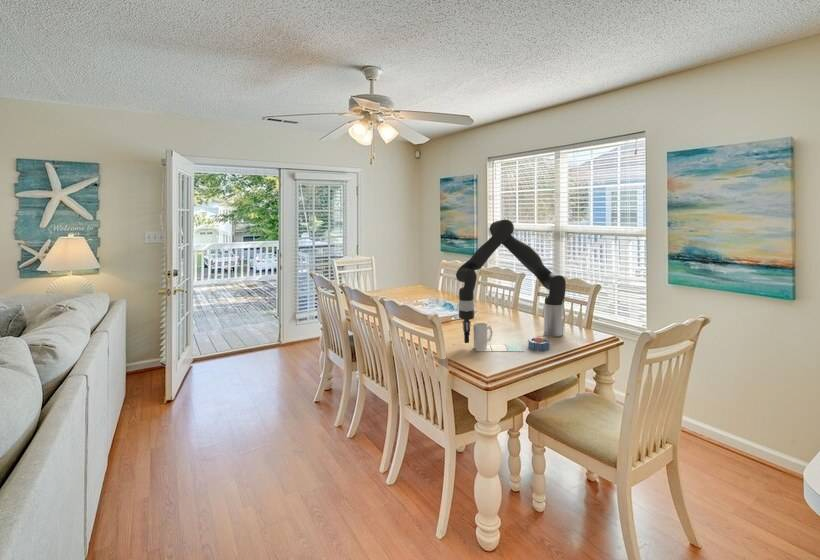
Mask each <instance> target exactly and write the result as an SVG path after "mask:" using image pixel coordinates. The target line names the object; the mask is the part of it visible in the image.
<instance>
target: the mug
mask: <svg viewBox="0 0 820 560" xmlns="http://www.w3.org/2000/svg"><path fill="white" fill-rule="evenodd" d="M488 330H489V337H488ZM492 336H493V329H492V326H491V325H490V324H489V325H488V323H484V322H477V323H476V322H475V323H473V347H474V348H473V349H475V350H476V349H477V350H485V349H487V344H488V343H489V342H491V340H492Z"/></svg>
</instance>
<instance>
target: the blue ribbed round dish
mask: <svg viewBox="0 0 820 560" xmlns="http://www.w3.org/2000/svg"><path fill="white" fill-rule="evenodd" d="M536 337H537V336H535V337H529V338H528V345H527V346H528V349H529V350H531V351H534V352H546V351H549V350H550V339H548V338H546V337H542V338H543V339H544V341H545V342H543V343H539V342H534V341H533V340H534V339H535V338H536Z"/></svg>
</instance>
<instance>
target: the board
mask: <svg viewBox="0 0 820 560" xmlns="http://www.w3.org/2000/svg"><path fill="white" fill-rule="evenodd" d="M475 352H476V353H477V352H482V353H486V352H487V353H489V352H490V353H494V352H495V353H496V352H497V353H498V352H499V353H502V352H505V353H506V352H507V353H515V352H516V353H517V352H518V353H520V352H521V353H522V352H525V351H524V350H523V348H522V346H521V344H520V343H519V344H517V343H515V344H514V343H513V344H512V343H508V344H507V343H502V344H501V343H500V344H499V343H495V344H494V343H490V344H489V343H487V349H485V350H477V349H475Z"/></svg>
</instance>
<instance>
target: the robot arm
mask: <svg viewBox="0 0 820 560" xmlns="http://www.w3.org/2000/svg"><path fill="white" fill-rule="evenodd" d="M514 225H515V224H514V223H513V222H512V221H511V220H510V219H499V220H497V221H493V222H492V223H491V224H490V225H489V232H490V235H491V236H490V238H489V239H488V240H487V241H485V242H484V243H483V244H481V246H480V247H479V248H478V249H477V250H476V251H475V252H474V253H473V255H472V256H471V257H469V260H468V259H467V261H465V262H464V263H463V264H462V265H461V266H460V267H459V268H458V269H457V270H456V273H455V277H456V280H457V281H458V282H460V283H463V286H462V287H460V288H459V291H458V318H459V319H460V320H462V322H461V323H462V331H463V336H464V340H463V341H464V343H465V344H469V342H470V335H471V334H470V332H471V326H472V323H471V320H473V319H475V302H474V301H475V300H474V291H475V289H476V288H475V287H476V283H477V277H478V276H477V273H476V271H478V270H480V269H481V268H482V267H484V265H485V264H486V262H487V261H488V260H489V258H490V257H492V255H493V254H494V252H496V250H497V249H498V248H499V247H500V246H501V245H503V246H504V247H505V248H506V250H508V251H509V252H510V253H511V254H512V255H513V256H514V257H515V258H516V259H517V261H519V262H520V264H522V265H523V266H524V267H525V268H526V269H527V270H528V271H529V272H530V273H532V275H534V276H535V278H537V280H538V281H539V282H540V284H541V285H542V286H543V287H544V288H545V289H546V290H548V292H549V293H548V296H546V297H545V299H544V312H543V313H544V318H543V320H544V321H543V334H544V336H547V337H552V338H553V337H554V338H557V337H558V338H559V337H562V336H563V335H564V325H565V324H564V321H565V318H564V316H563V313H564V312H563V311H564V310H563V309H564V308H563V307H564V300H565V297H566V287H567V285H566V284H567V283H566V278H565V277H564V276H563V275H561V274H557V273H553V272H552V271H550V269H548V267H546V266H545V265H544V263H543V260H542V259H541V256H540V254H538V252H537V251H536V250H535V249H533V247H532V246H531V245H529V244H527V243H525V242H524V241H521V240H519V239H518V238H517V237H515V236H513V234H514V231H515V230H514V229H515V226H514Z"/></svg>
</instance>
